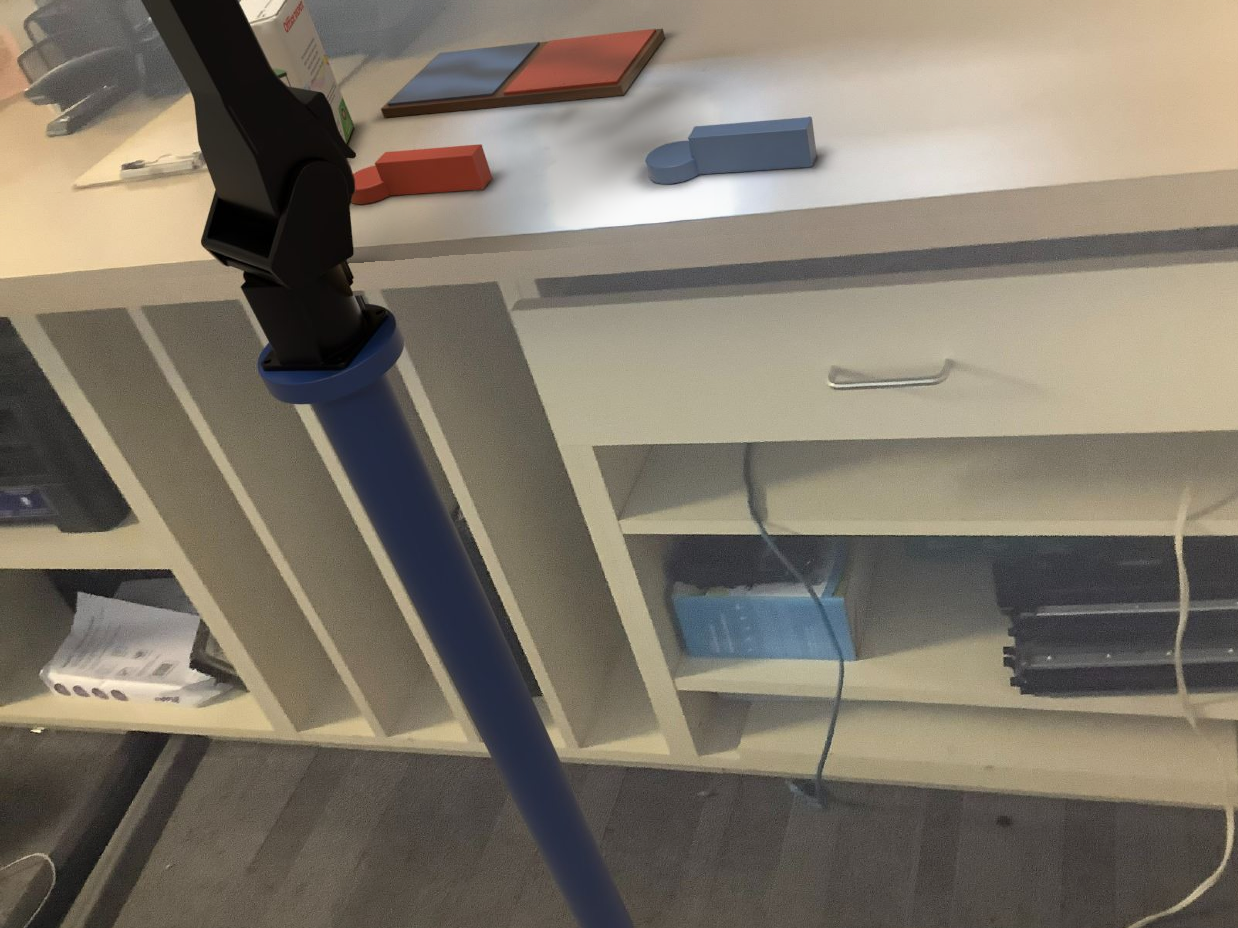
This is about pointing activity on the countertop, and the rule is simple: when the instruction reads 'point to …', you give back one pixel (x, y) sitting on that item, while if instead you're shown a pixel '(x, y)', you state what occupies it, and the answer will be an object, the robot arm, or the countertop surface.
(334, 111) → the ink box
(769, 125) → the blue rounded tab block
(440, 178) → the red stepped handle block
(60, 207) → the countertop surface
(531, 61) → the sorting board
